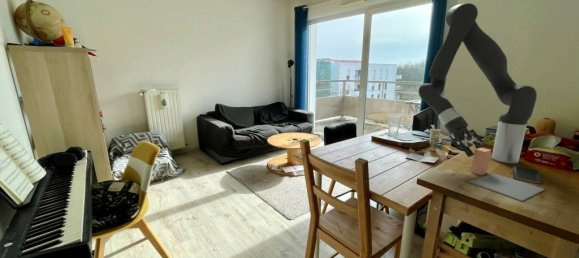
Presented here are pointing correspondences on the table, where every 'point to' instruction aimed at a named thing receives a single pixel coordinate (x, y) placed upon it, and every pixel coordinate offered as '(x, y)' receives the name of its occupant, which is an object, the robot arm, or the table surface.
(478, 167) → the block
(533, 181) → the phone
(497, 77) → the robot arm
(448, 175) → the table surface
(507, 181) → the mat
